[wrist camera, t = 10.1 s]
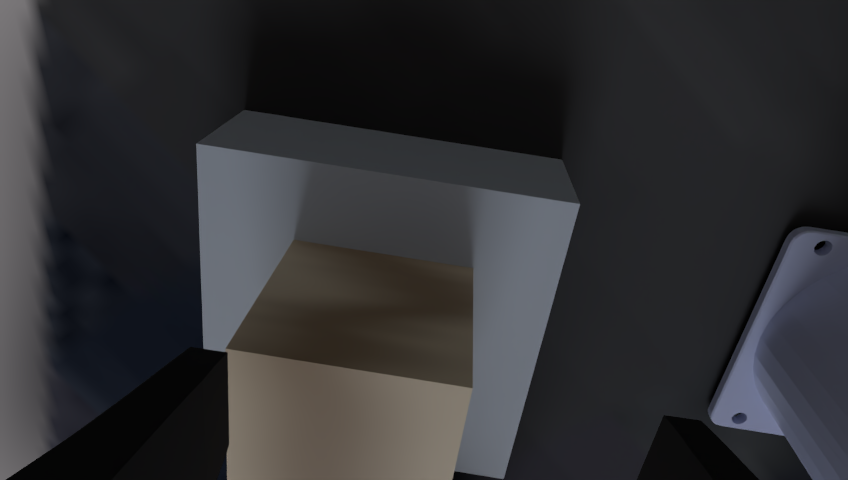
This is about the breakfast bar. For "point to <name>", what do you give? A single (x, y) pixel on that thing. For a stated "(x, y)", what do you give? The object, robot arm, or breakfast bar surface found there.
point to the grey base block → (393, 237)
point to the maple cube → (351, 369)
